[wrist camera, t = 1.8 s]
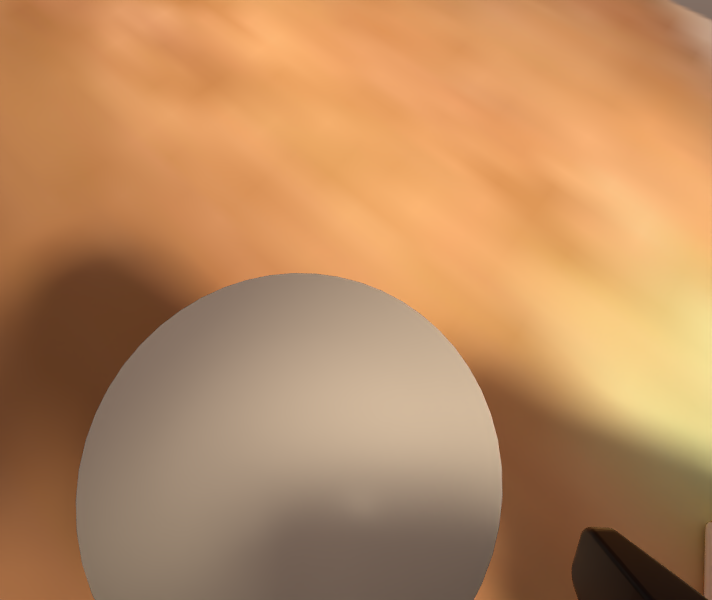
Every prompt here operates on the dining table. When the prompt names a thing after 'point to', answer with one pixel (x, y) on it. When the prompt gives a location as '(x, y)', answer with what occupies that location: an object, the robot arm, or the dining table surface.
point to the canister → (291, 454)
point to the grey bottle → (708, 562)
